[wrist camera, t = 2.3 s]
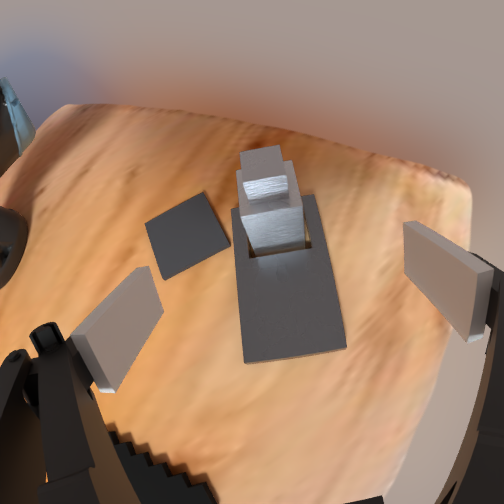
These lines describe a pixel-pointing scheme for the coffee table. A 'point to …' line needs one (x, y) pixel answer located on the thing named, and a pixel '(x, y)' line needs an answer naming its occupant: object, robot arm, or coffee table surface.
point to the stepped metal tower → (270, 202)
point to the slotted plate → (287, 296)
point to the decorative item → (158, 479)
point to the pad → (185, 236)
